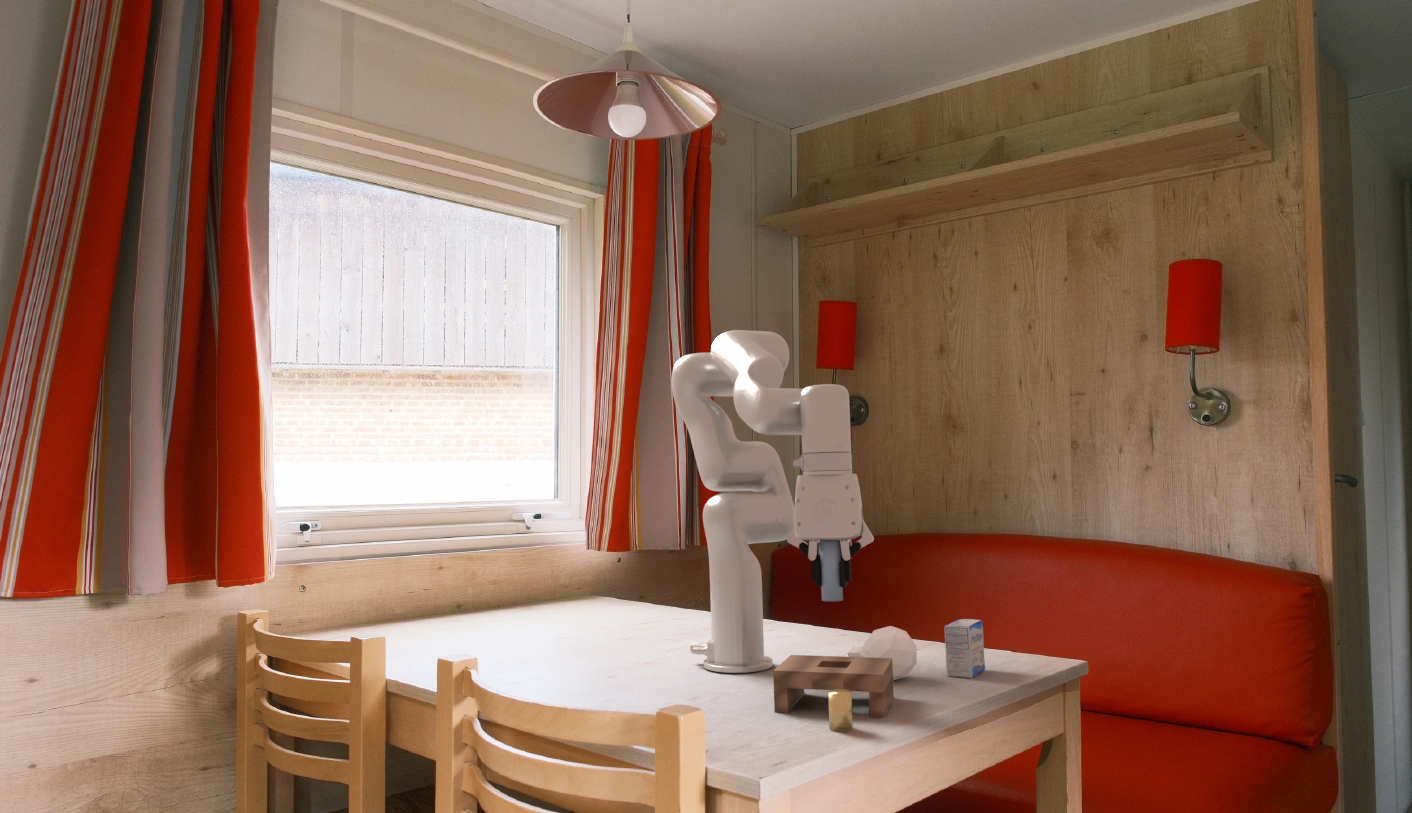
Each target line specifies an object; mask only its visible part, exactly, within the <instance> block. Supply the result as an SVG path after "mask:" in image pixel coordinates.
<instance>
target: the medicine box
mask: <svg viewBox="0 0 1412 813" xmlns="http://www.w3.org/2000/svg"><path fill="white" fill-rule="evenodd" d="M983 624H984V623H983V620H982V619H972V618H961V619H957V620H955V621H952V622H950V623H949V624H946V625H944V642H945V643H944V644H945V646H944V648H945V661H946V662H945V663H946V664H945V665H946V666H945V667H946V676H947V677H952V678H953V677H954V678H963V679H974V678H975V677H976V676H978V675H979V674H980V673H982V672H983V671H984V670H985V669H986V664H985V663H986V662H985V660H986V659H985V646H984V645H985V644H984V643H985V642H984V626H983Z"/></svg>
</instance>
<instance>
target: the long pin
mask: <svg viewBox="0 0 1412 813" xmlns="http://www.w3.org/2000/svg"><path fill="white" fill-rule="evenodd" d="M819 555H820V564H821V586H820V588H821V589H820V590H821V592H820V593H821V601H823V602H842V601H844V593H843V592H844V590H843V588H844V587H841V586H840V570H839V561H841V556H842V551H841V544H840V540H820V553H819Z"/></svg>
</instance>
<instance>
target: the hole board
mask: <svg viewBox="0 0 1412 813" xmlns="http://www.w3.org/2000/svg"><path fill="white" fill-rule="evenodd" d="M772 673H773V675H772V676H773V704H774V706H773V708H774V713H789V712H790V711H791V709H792V708H794V707H795V705H797V703H798V702H799V701H800V699H802V697H803V696H804V695H805V690H813V691H814V690H816V691H817V690H818V691H819V690H820V691H829V690H834V689H845V690H850V691H851V692H859V693H860V692H863V693H868V697H869V698H868V699H869V717H870V718H880V719H881V718H882V719H883V718H885V717H886V715H887V713H888V710H889V709H890V707H891V704H892V702H893V700H894V697H895V696H894V695H895V694H894V691H895V690H894V680H893V665H892V658H869V657H849V656H840V655H839V656H837V655H836V656H833V655H832V656H831V655H830V656H829V655H804V654H803V655H801V654H790V655H789V656H788V657H787V658H785V660H783V661H782V662H781V663H780V664H778V666H777V667H775V668H774V669H773V671H772Z"/></svg>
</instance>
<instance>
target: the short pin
mask: <svg viewBox="0 0 1412 813" xmlns="http://www.w3.org/2000/svg"><path fill="white" fill-rule="evenodd" d="M852 692H853V691H850V690H845V689H834V690H827V696H828V697H827V703H828V706H827V708H828V728H829V731H830V732H834V733H848V732H852V731H853V729H854V727H853V726H854V725H853V720H854V719H853V698H852V697H853V696H852V695H853V694H852Z"/></svg>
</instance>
